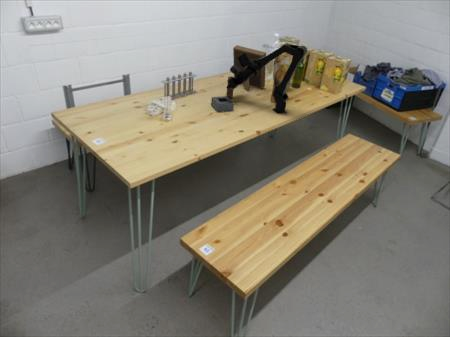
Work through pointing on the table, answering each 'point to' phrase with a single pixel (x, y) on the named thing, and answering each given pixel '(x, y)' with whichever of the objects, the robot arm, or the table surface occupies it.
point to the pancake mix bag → (280, 70)
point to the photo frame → (253, 54)
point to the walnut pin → (230, 90)
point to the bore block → (222, 103)
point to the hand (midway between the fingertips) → (228, 87)
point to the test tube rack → (179, 85)
